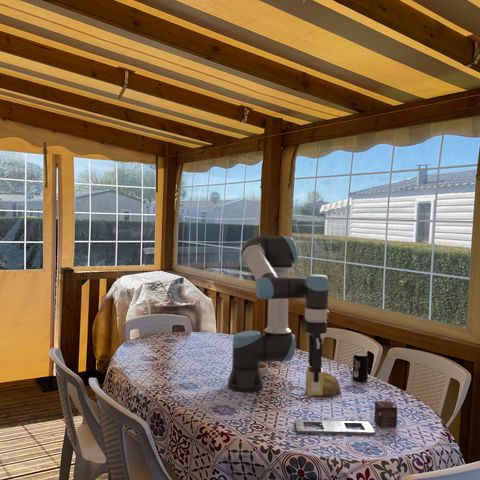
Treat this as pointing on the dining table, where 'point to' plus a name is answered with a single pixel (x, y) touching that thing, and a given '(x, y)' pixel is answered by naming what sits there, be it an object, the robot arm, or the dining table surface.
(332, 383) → the pastry
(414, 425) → the dining table surface
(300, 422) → the grey board with holes
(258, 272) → the robot arm
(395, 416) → the box
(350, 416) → the dining table surface
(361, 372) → the beverage can
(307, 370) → the gold block with hole
